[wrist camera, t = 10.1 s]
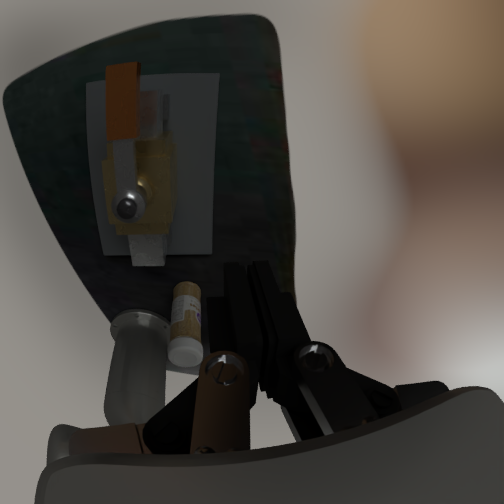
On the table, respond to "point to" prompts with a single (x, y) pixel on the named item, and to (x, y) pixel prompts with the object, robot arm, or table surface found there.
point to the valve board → (188, 158)
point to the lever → (125, 138)
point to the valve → (149, 183)
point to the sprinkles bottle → (186, 326)
